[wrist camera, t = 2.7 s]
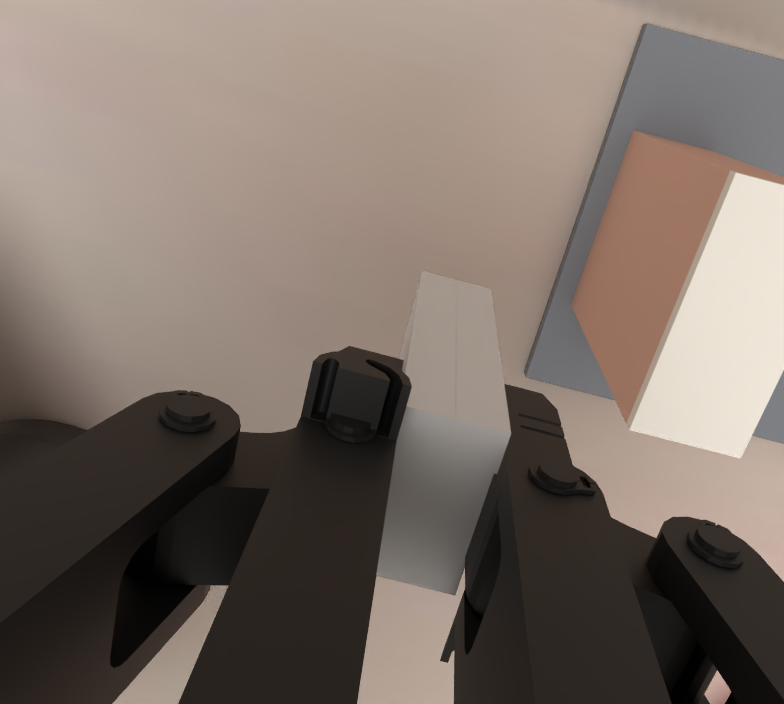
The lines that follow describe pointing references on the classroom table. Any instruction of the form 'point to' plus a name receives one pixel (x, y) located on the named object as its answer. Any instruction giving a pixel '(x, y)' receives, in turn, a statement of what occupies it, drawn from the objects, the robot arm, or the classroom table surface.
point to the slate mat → (681, 124)
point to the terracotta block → (688, 293)
